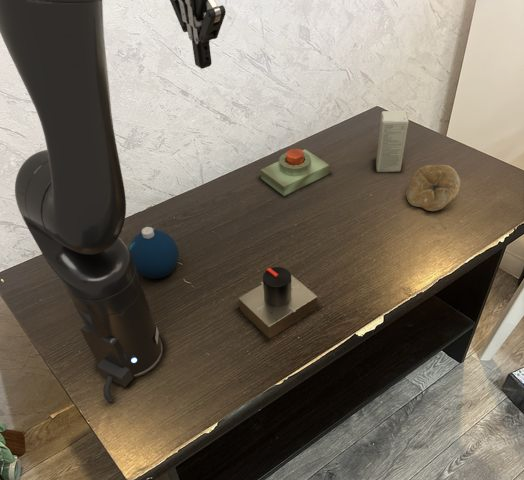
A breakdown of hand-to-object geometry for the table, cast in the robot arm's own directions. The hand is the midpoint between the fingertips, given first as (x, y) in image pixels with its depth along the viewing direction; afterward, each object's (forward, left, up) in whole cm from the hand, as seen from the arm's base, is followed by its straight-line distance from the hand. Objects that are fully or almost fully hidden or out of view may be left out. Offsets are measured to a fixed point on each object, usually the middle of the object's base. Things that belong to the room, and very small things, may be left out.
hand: (203, 65), depth 80 cm
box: (+28, -24, -27) cm, 46 cm away
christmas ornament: (-21, 0, -27) cm, 34 cm away
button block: (+16, -8, -27) cm, 32 cm away
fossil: (+20, -36, -27) cm, 49 cm away
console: (-19, -24, -27) cm, 41 cm away
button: (+16, -8, -23) cm, 29 cm away
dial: (-19, -23, -24) cm, 39 cm away
